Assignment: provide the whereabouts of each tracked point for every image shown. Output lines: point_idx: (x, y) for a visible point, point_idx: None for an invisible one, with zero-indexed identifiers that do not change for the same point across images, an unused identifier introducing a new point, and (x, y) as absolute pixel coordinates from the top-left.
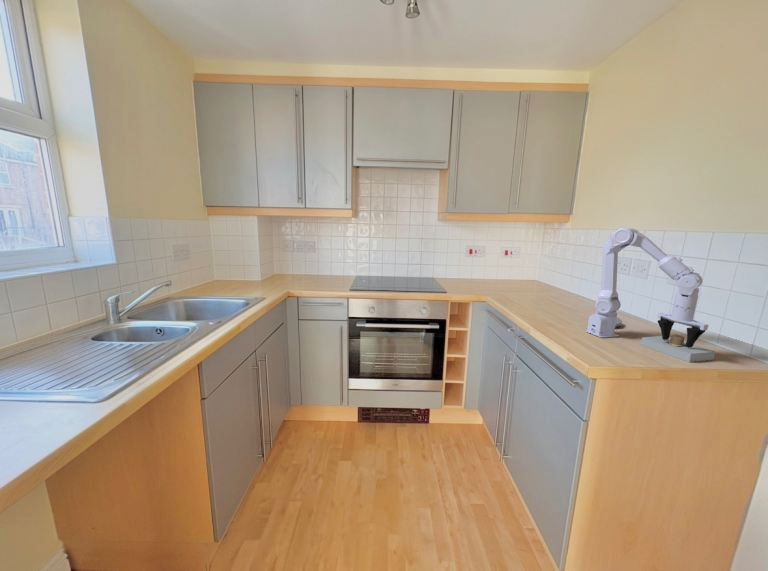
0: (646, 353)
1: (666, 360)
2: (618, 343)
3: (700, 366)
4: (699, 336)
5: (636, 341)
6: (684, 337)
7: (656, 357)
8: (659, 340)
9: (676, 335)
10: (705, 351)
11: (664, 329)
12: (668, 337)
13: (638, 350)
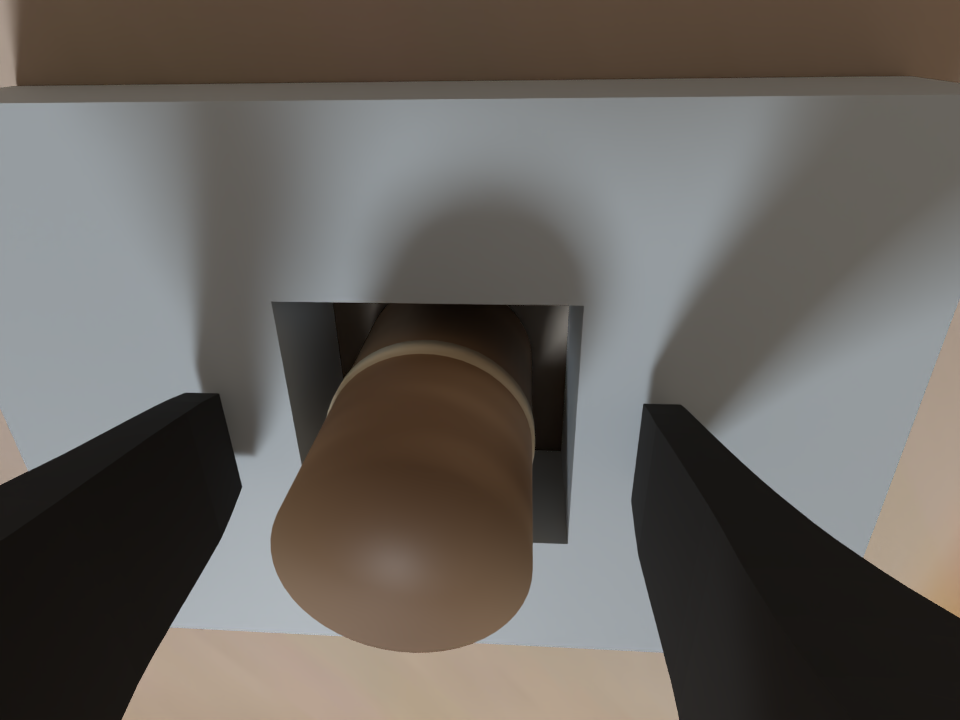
0: (439, 698)
1: (641, 699)
2: (137, 694)
3: (906, 557)
4: (895, 585)
5: (14, 458)
6: (504, 511)
7: (552, 709)
8: (230, 521)
9: (338, 533)
10: (900, 324)
11: (114, 718)
12: (196, 423)
13: (351, 694)
